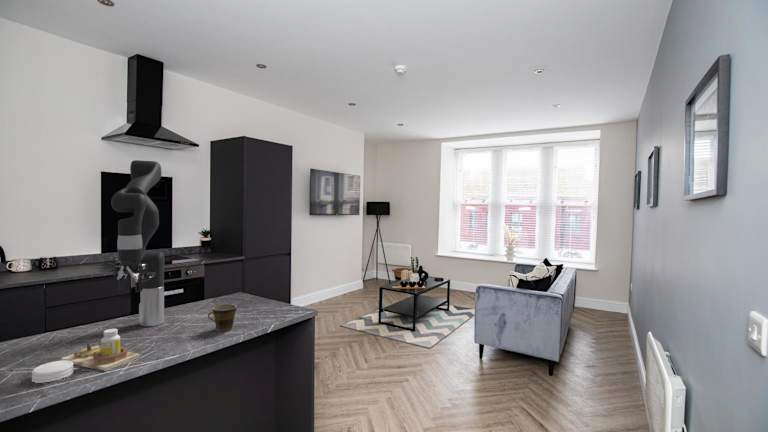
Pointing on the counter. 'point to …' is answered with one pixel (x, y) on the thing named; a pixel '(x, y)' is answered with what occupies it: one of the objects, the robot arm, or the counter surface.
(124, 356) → the gear board
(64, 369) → the coaster
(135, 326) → the counter surface
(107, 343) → the supplement bottle
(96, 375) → the counter surface
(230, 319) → the ceramic cup
